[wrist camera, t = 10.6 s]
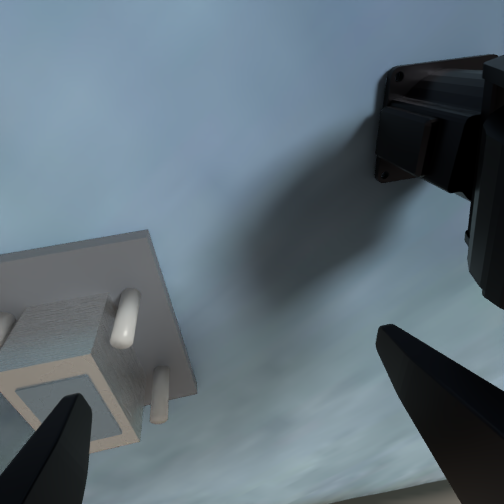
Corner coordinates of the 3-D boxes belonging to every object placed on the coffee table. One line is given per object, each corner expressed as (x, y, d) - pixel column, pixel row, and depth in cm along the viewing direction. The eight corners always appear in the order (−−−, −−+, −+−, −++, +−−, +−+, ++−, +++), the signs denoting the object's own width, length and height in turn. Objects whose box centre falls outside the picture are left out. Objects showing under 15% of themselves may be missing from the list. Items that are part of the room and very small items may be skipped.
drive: (109, 291, 20) (89, 355, 16) (146, 377, 25) (139, 443, 21) (26, 306, 20) (-16, 376, 15) (81, 391, 25) (61, 461, 20)
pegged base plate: (148, 229, 19) (139, 277, 15) (196, 383, 28) (199, 440, 24) (-62, 265, 18) (-134, 328, 14) (58, 415, 27) (35, 480, 23)
